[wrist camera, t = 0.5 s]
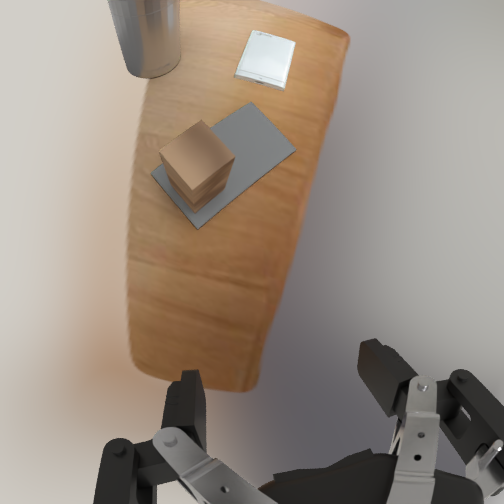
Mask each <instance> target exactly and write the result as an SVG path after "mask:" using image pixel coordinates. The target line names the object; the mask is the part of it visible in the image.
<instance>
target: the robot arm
mask: <svg viewBox="0 0 504 504" xmlns="http://www.w3.org/2000/svg"><path fill="white" fill-rule="evenodd" d="M108 3H109V7H110V10H111V14H112V18H113V22H114V25H115V29H116V33H117V36H118V39H119V43H120V46H121V50H122V53H123V57H124V60H125V63H126V66H127V69H128V71H129V72H130V73H131V74H132V75H134V76H136V77H140V78H154V77H158V76H161V75H164V74H166V73H167V72H169V71H171V70H172V69H173V68H174V67H175V66H176V65H177V64H178V62H179V60H180V57H181V52H180V0H108ZM357 368H358V373H359V376H360V377H361V379H362V380H363V382H364V383H365V384H366V386H367V387H368V389H369V390H370V392H371V393H372V395H373V396H374V397H375V399H376V400H377V402H378V403H379V405H380V406H381V408H382V409H383V411H384V412H385V414H386V415H387V416H388V417H390V416H393V415H397V416H398V419H397V422H396V426H395V431H394V435H393V439H392V443H391V447H390V451H389V453H388V454H386V453H378V454H373V453H372V451H371V449H367V450H364V451H362V452H359V453H355V454H352V455H349V456H347V457H345V458H344V459H342V460H340V461H338V462H337V463H335V464H333V465H331V466H329V467H327V468H319V469H297V470H293V471H288V472H282V473H277V474H273V478H274V480H273V481H270V482H268V483H266V484H264V485H262V486H261V487H259V488H258V489H256V488H255V487H254V486H252V485H251V484H250V483H248V482H247V481H246V480H244V479H243V478H242V477H240V476H239V475H238V474H236V473H235V472H234V471H232V470H231V469H230V468H229V467H228V466H227V465H225V464H224V463H223V462H222V461H220V460H218V459H217V458H215V459H213V458H211V457H210V456H209V455H208V454H207V453H206V399H205V393H204V389H203V385H202V381H201V377H200V374H199V370H198V369H197V370H184V371H182V376H181V381H174V382H172V384H171V385H170V386H169V388H168V390H167V395H166V401H165V407H164V413H163V420H162V426H161V430H159V431H158V432H157V433H156V434H155V435H154V437H153V439H151V440H149V441H146V442H141V443H137V444H132V443H131V442H130V441H129V440H127V439H124V438H117V439H113V440H111V441H109V442H108V443H107V444H106V445H105V447H104V449H103V454H102V458H101V463H100V468H99V473H98V478H97V484H96V489H95V495H94V503H93V504H157V485H159V484H163V483H167V482H171V481H175V480H176V481H177V482H178V483H179V484H180V485H181V486H182V487H183V488H184V489H185V490H186V491H187V492H188V493H189V494H190V495H191V496H192V497H193V498H194V499H195V500H196V501H197V502H198V503H199V504H484V500H485V499H487V498H488V497H489V496H495V495H497V494H499V493H500V492H501V491H502V490H503V489H504V406H503V405H502V404H501V403H500V402H499V401H498V400H497V399H496V398H495V397H494V396H493V395H492V394H491V393H490V391H488V389H486V387H485V386H484V385H483V384H482V383H481V382H480V381H479V380H478V379H477V378H476V377H475V376H474V375H473V374H472V373H470V372H469V371H467V370H463V369H458V370H455V371H453V372H452V373H451V375H450V378H449V379H448V380H443V381H435V380H434V379H433V378H431V377H429V376H426V375H418V374H417V373H416V372H415V371H414V370H413V369H412V368H411V367H410V365H409V364H408V363H407V362H406V361H404V359H403V358H402V357H401V356H399V354H398V353H397V352H396V351H395V350H394V349H393V348H391V347H389V346H387V345H384V346H383V345H382V344H381V343H380V342H379V341H378V340H377V339H375V338H374V339H370V340H366V341H363V342H361V344H360V350H359V357H358V365H357ZM462 407H464V409H465V410H466V411H467V412H468V414H469V415H470V417H471V421H470V420H469V418H468V417H467V416H466V415H465V414H464V412H463V411H462V410H461V409H462ZM439 427H440V428H441V429H442V431H443V432H444V433H445V435H446V436H447V438H448V439H449V441H450V442H451V444H452V445H453V446H454V448H455V450H456V451H457V452H458V454H459V455H460V456H461V458H462V460H463V461H464V463H465V464H466V471H465V472H466V477H462V476H458V475H454V474H451V473H447V472H443V471H440V470H437V469H435V462H436V455H437V446H438V436H439Z"/></svg>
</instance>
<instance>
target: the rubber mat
mask: <svg viewBox="0 0 504 504" xmlns="http://www.w3.org/2000/svg"><path fill="white" fill-rule="evenodd" d="M210 129H211V130H212V131H213V133H214V134H215V135H216V136H217V137H218V138H219V139H220V140H221V141H222V142H223V143H224V144H225V145H226V147H227V148H228V149H229V150H230V151H231V152H232V153H233V154H234V155H235V156H236V157H235V160H234V163H233V165H232V168H231V171H230V174H229V177H228V180H227V183H226V186H225V189H224V190H223V191H222V192H221V193H220V194H218V195H217V196H216V197H215V198H213V199H212V200H211V201H210V202H209V203H207V204H206V205H205V206H204V207H203V208H201V209H200V210H199V211H198V212H197V213H194V212H193V211H192V210H191V209H190V207H189V206H188V205H187V204H186V203H185V202H184V200H183V199H182V198H181V197H180V196H179V194H178V193H177V192H176V191H175V190H174V189H173V187H172V186H171V184H170V181H169V179H168V176H167V173H166V170H165V168H164V165H163V163H162V164H161V165H160V166H159V167H157V168H156V169H155V170H154V171H152V172H151V175H152V176H153V177H154V178H155V180H156V181H157V182H158V183H159V184H160V186H161V187H162V188H163V189H164V190H165V192H166V193H167V194H168V195H169V196H170V198H171V199H172V200H173V201H174V202H175V204H176V205H177V206H178V207H179V208H180V210H181V211H182V212H183V213H184V214H185V215H186V217H187V218H188V219H189V220H190V221H191V223H192V224H193V225H194V226H195V227H196V228H197V230H198V229H199V228H200V227H202V226H203V225H204V224H205V223H206V222H207V221H209V220H210V219H211V218H212V217H213V216H215V215H216V214H217V213H218V212H219V211H221V210H222V209H223V208H224V207H225V206H227V205H228V204H229V203H230V202H231V201H233V200H234V199H235V198H236V197H238V196H239V195H240V194H241V193H242V192H244V191H245V190H246V189H247V188H249V187H250V186H251V185H252V184H254V183H255V182H256V181H257V180H259V179H260V178H261V177H262V176H264V175H265V174H266V173H268V172H269V171H270V170H271V169H273V168H274V167H275V166H276V165H278V164H279V163H280V162H282V161H283V160H284V159H286V158H287V157H288V156H289V155H291V154H292V153H293V152H295V151H296V148H295V147H294V146H293V145H292V144H291V143H290V142H289V141H288V140H287V139H286V137H285V136H284V135H283V134H282V133H281V132H280V131H279V130H278V129H277V128H276V127H275V126H274V125H273V124H272V122H271V121H270V120H269V119H268V118H267V117H266V116H265V115H264V114H263V113H262V112H261V111H260V110H259V109H258V108H257V107H256V106H255V105H254V104H253V103H252V102H250V103H248V104H247V105H245V106H243V107H242V108H240V109H239V110H237V111H235V112H234V113H232V114H231V115H229V116H228V117H226V118H225V119H223V120H222V121H220V122H219V123H217V124H216V125H214V126H213V127H211V128H210Z"/></svg>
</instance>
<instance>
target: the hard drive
mask: <svg viewBox="0 0 504 504" xmlns="http://www.w3.org/2000/svg"><path fill="white" fill-rule="evenodd" d="M295 44H296V43H295V42H294V41H291V40H288V39H285V38H281V37H278V36H274V35H271V34H267V33H264V32H260V31H256V30H252V32H251V35H250V37H249V40H248V42H247V45H246V47H245V50H244V52H243V55H242V57H241V60H240V62H239V65H238V67H237V70H236V73H235V76H234V78H238V79H242V80H246V81H249V82H253V83H257V84H260V85H264V86H267V87H271V88H274V89H277V90H280V91H284V89H285V85H286V81H287V77H288V73H289V68H290V64H291V60H292V56H293V52H294V48H295Z"/></svg>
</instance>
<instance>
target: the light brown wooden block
mask: <svg viewBox="0 0 504 504" xmlns="http://www.w3.org/2000/svg"><path fill="white" fill-rule="evenodd" d="M159 153H160V156H161V159H162V162H163V165H164V168H165V170H166V173H167V176H168V179H169V181H170V184H171V186H172V187H173V189H174V190H175V191H176V192H177V193H178V194H179V196H180V197H181V198H182V199H183V200H184V202H185V203H186V204H187V205H188V206H189V207H190V209H191V210H192V211H193V212H194V213H197V212H198V211H199V210H200V209H201V208H203V207H204V206H205V205H206V204H207V203H209V202H210V201H211V200H212V199H213V198H215V197H216V196H217V195H218V194H220V193H221V192H222V191H223V190H224V189H225V186H226V183H227V180H228V177H229V174H230V171H231V168H232V165H233V163H234V160H235V157H236V156H235V155H234V154H233V153H232V152H231V151H230V150H229V149H228V148H227V147H226V145H225V144H224V143H223V142H222V141H221V140H220V139H219V138H218V137H217V136H216V135H215V134H214V133H213V131H212V130H211V129H210V128H209V127H208V126H207V125H206V124H205V123H204V122H203V121H202V120H201V121H199V122H198V123H196V124H195V125H193V126H192V127H190V128H189V129H188V130H186V131H185V132H183V133H182V134H180V135H179V136H178V137H176V138H175V139H174V140H172V141H171V142H170V143H168V144H167V145H166V146H164V147H163V148H162V149H160V150H159Z"/></svg>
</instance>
